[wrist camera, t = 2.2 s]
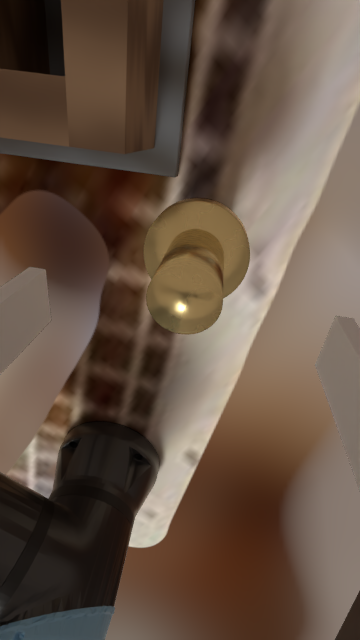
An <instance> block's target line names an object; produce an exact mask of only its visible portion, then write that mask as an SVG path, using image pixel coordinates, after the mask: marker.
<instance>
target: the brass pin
mask: <svg viewBox="0 0 360 640" xmlns="http://www.w3.org/2000/svg"><path fill="white" fill-rule="evenodd" d="M249 260H250V248H249V242H248V237H247V233H246V230H245V228H244V226H243V224H242V222H241V221H240V219H239V218H238V217H237V215H236V214H235V213H234V212H233V211H232V210H230V209H229V208H228V207H226V206H225V205H223V204H221V203H219V202H217V201H214V200H211V199H206V198H190V199H185V200H182V201H179V202H176V203H175V204H173V205H171V206H169V207H168V208H167V209H165V210H164V211H163V212H162V213H161V214H160V215H159V217H158V218H157V219H156V220H155V221H154V223H153V224H152V226H151V227H150V229H149V231H148V233H147V236H146V239H145V243H144V262H145V266H146V269H147V272H148V274H149V276H150V278H151V279H152V280H151V282H150V284H149V286H148V289H147V294H146V301H147V306H148V310H149V312H150V314H151V315H152V317H153V318H154V320H155V321H156V322H157V323H158V324H159V325H161V326H162V327H163V328H165V329H167V330H169V331H171V332H174V333H178V334H195V333H199V332H202V331H204V330H206V329H208V328H209V327H210V326H212V325H213V324H214V323H215V322H216V320H217V319H218V317H219V315H220V313H221V310H222V305H223V298H225V297H227V296H228V295H229V294H231V293H232V292H233V291H234V290H235V289H236V288H237V287H238V286H239V285H240V283H241V282H242V280H243V279H244V277H245V275H246V272H247V269H248V266H249Z"/></svg>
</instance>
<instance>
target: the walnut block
mask: <svg viewBox="0 0 360 640" xmlns="http://www.w3.org/2000/svg"><path fill="white" fill-rule="evenodd" d="M194 7H195V0H0V153H2V154H10V155H17V156H24V157H31V158H39V159H46V160H53V161H61V162H68V163H75V164H82V165H90V166H97V167H104V168H111V169H119V170H126V171H133V172H141V173H148V174H155V175H162V176H170V177H177V176H178V169H179V159H180V149H181V139H182V128H183V118H184V108H185V98H186V88H187V78H188V68H189V58H190V47H191V37H192V27H193V17H194Z"/></svg>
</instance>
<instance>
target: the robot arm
mask: <svg viewBox="0 0 360 640" xmlns="http://www.w3.org/2000/svg"><path fill="white" fill-rule="evenodd" d="M50 321H51V312H50V303H49V294H48V285H47V276H46V270H45V269H40V268H34V267H29V268H27V269H26V270H24V271H23V272H22V273H20V274H19V275H17V276H16V277H14V278H13V279H11V280H10V281H8V282H7V283H5V284H4V285H3V286H1V287H0V375H1V373H2V372H3V371H4V370H5V369H6V368H7V367H8V366H9V365H10V364H11V363H12V362H13V361H14V360H15V358H16V357H17V356H18V355H19V354H20V353H21V352H22V351H23V350H24V349H25V348H26V347H27V346H28V345H29V344H30V343H31V342H32V340H33V339H34V338H35V337H36V336H37V335H38V334H39V333H40V332H41V331H42V330H43V329H44V328H45V327H46V326H47V325H48V324H49V322H50ZM315 366H316V369H317V372H318V375H319V378H320V380H321V383H322V386H323V388H324V392H325V395H326V397H327V400H328V402H329V406H330V409H331V411H332V414H333V417H334V420H335V423H336V426H337V428H338V431H339V434H340V437H341V440H342V442H343V445H344V448H345V451H346V454H347V457H348V459H349V462H350V465H351V468H352V471H353V474H354V476H355V479H356V482H357V485H358V488H359V490H360V328H359V326H358V325H357V323H356V322H355V320H354V319H353V318H347V317H340V316H335V318H334V321H333V323H332V326H331V328H330V330H329V333H328V335H327V338H326V340H325V342H324V345H323V347H322V350H321V352H320V354H319V357H318V359H317V362H316V364H315ZM158 469H159V457H158V454H157V452H156V450H155V449H154V447H153V446H152V445H151V443H150V442H149V441H148V440H147V439H145V438H144V437H143V436H142V435H140V434H139V433H137V432H135V431H133V430H131V429H129V428H127V427H124V426H121V425H118V424H114V423H109V422H89V423H85V424H81V425H79V426H77V427H75V428H73V429H72V430H71V431H70V432H69V433H68V434H67V436H66V438H65V440H64V442H63V443H62V445H61V447H60V450H59V453H58V459H57V466H56V472H55V479H54V485H53V490H52V493H51V495H50V497H49V499H47V498H45V497H44V496H42V495H41V494H39V493H37V492H35V491H33V490H31V489H30V488H28V487H26V486H24V485H22V484H21V483H19V482H17V481H15V480H13V479H11V478H10V477H8V476H6V475H4V474H2V473H1V472H0V640H105V637H106V634H107V630H108V627H109V624H110V620H111V617H112V615H113V613H114V610H115V607H114V604H115V600H116V596H117V591H118V588H119V583H120V579H121V575H122V570H123V566H124V562H125V557H126V553H127V549H128V545H129V541H130V536H131V532H132V528H133V524H134V520H135V517H136V515H137V513H138V511H139V510H140V508H141V506H142V505H143V503H144V501H145V499H146V498H147V496H148V494H149V493H150V491H151V489H152V488H153V486H154V484H155V482H156V479H157V474H158ZM335 640H360V591H359V593H358V595H357V597H356V599H355V601H354V603H353V605H352V607H351V609H350V611H349V613H348V615H347V617H346V619H345V621H344V623H343V625H342V627H341V629H340V631H339V633H338V635H337V636H336V638H335Z"/></svg>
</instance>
